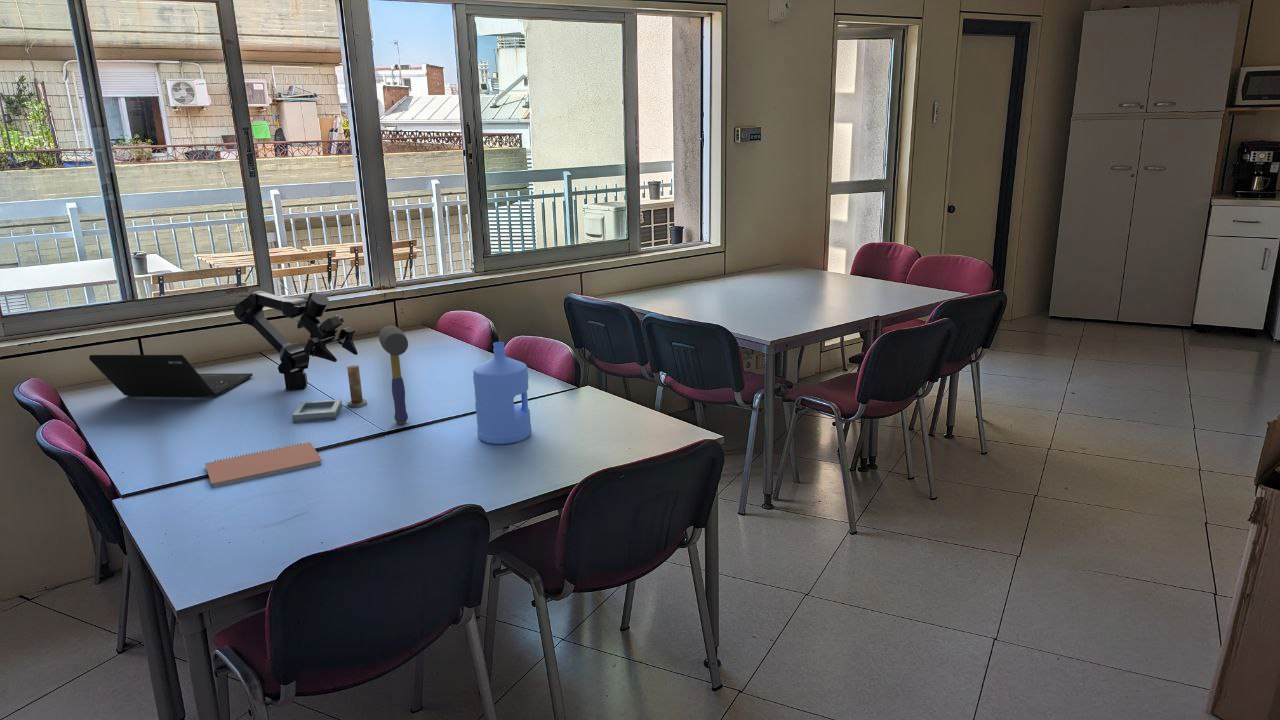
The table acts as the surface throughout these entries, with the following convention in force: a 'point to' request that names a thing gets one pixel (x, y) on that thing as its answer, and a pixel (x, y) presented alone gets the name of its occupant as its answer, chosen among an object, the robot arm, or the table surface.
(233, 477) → the notebook
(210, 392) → the laptop
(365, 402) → the wooden post on disc
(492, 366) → the water jug
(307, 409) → the tray
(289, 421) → the table surface
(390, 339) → the rubber mallet
